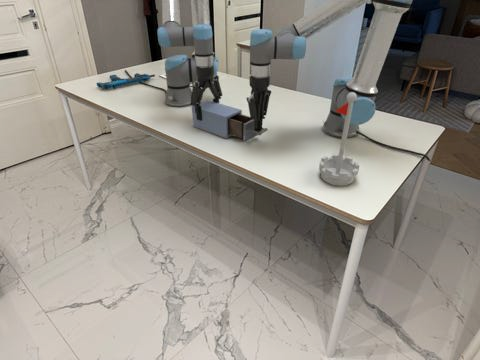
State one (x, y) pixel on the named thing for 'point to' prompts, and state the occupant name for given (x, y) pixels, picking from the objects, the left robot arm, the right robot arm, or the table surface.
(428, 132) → the table surface
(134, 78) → the submachine gun
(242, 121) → the drawer
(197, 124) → the cabinet
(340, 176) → the flag stand
